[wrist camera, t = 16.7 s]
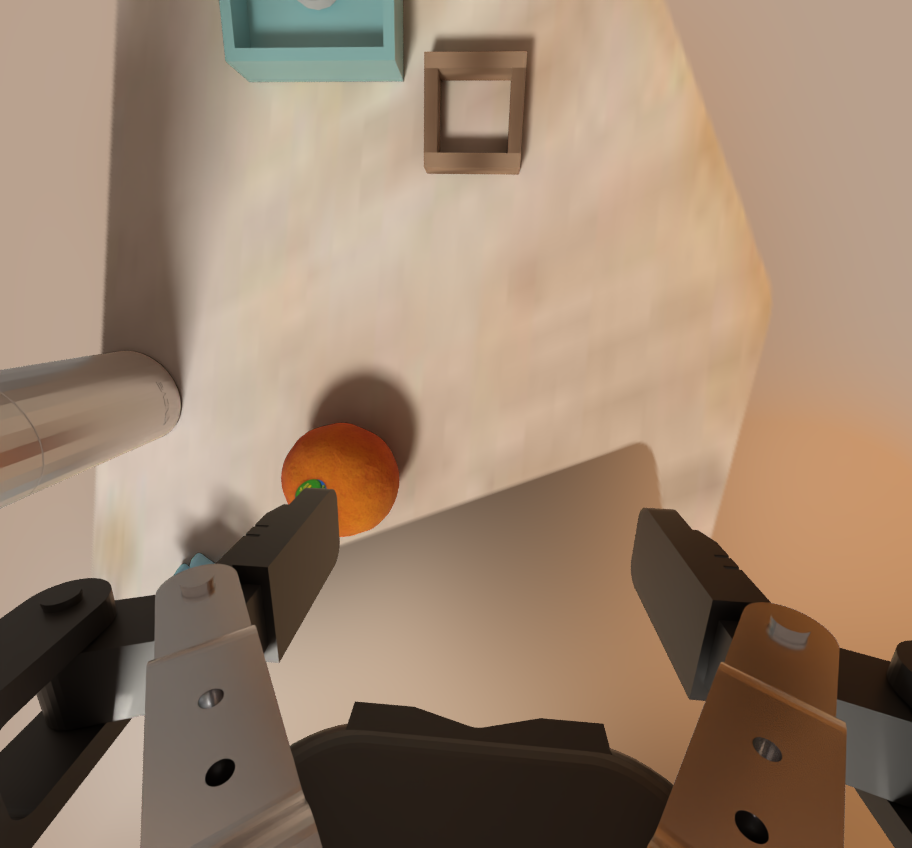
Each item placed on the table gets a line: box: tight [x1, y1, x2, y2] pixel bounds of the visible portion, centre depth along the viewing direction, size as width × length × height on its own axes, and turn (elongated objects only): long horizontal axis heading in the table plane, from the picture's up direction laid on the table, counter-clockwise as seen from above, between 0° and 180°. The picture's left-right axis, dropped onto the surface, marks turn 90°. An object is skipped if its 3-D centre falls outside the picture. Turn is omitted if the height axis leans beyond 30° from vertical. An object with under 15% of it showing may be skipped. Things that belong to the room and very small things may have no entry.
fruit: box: [281, 423, 399, 537], centre depth 41 cm, size 11×10×8 cm
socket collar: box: [424, 51, 527, 174], centre depth 34 cm, size 8×8×2 cm
